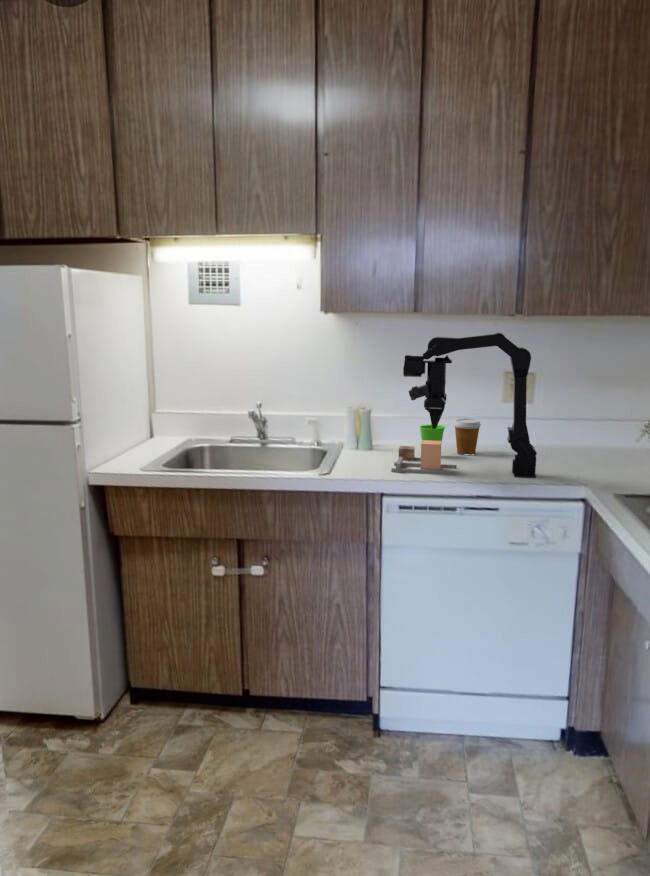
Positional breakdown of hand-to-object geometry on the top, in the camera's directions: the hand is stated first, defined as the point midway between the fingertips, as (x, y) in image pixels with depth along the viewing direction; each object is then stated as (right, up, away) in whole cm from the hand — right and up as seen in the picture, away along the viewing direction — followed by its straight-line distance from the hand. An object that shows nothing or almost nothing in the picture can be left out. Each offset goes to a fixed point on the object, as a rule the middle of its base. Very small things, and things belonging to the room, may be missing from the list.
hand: (434, 426), depth 213 cm
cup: (+2, -11, +23) cm, 25 cm away
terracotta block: (-1, -14, 0) cm, 14 cm away
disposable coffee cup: (+16, -10, +29) cm, 34 cm away
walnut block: (-7, -12, +16) cm, 21 cm away
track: (-3, -15, +1) cm, 15 cm away
